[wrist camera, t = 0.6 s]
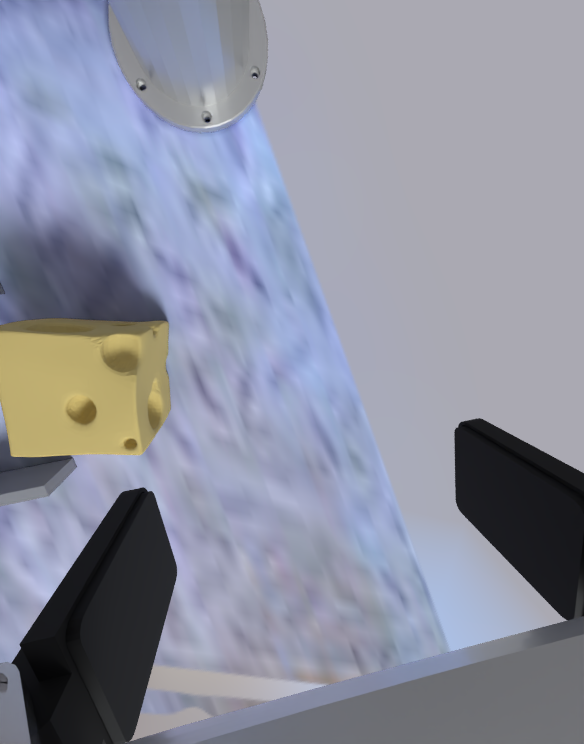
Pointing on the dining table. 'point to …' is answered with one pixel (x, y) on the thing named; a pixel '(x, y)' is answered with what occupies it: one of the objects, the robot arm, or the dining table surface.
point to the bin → (33, 478)
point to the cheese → (83, 385)
